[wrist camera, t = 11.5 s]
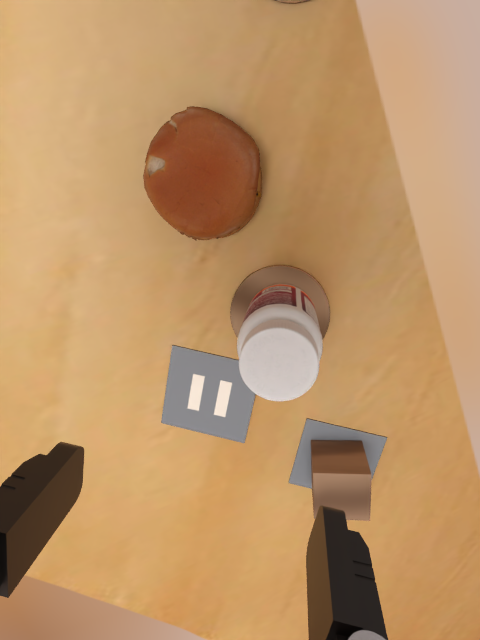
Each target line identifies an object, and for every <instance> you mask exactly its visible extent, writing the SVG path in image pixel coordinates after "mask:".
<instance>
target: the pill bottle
mask: <svg viewBox="0 0 480 640" xmlns="http://www.w3.org/2000/svg"><path fill="white" fill-rule="evenodd" d="M322 348H323V344H322V335H321V332H320V327H319V323H318V319H317V314H316V310H315V307H314V305H313V303H312V301H311V299H310V298H309V296H308V295H307V294H306V293H305V292H303V291H302V290H301V289H299V288H297V287H295V286H292V285H288V284H275V285H271V286H268V287H266V288H264V289H263V290H261V291H260V292H259V293H257V294H256V295H255V297H254V298H253V299H252V301H251V303H250V305H249V307H248V310H247V313H246V316H245V318H244V321H243V323H242V326H241V328H240V331H239V335H238V339H237V352H238V356H239V370H240V374H241V377H242V379H243V381H244V382H245V384H246V385H247V387H248V388H249V389H250V390H251V391H252V392H254V393H255V394H257V395H258V396H260V397H262V398H264V399H268V400H272V401H288V400H292V399H295V398H298V397H299V396H301V395H303V394H304V393H306V392H307V391H308V390H309V389H310V388H311V387H312V385H313V384H314V382H315V380H316V378H317V376H318V372H319V361H320V359H321V355H322Z"/></svg>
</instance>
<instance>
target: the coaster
mask: <svg viewBox="0 0 480 640" xmlns="http://www.w3.org/2000/svg"><path fill="white" fill-rule="evenodd" d="M275 284H288V285H292V286H295V287H297V288H299V289H301V290H302V291H303V292H305V293H306V294H307V295H308V296H309V298H310V299H311V301H312V303H313V305H314V307H315V310H316V314H317V319H318V323H319V327H320V332H321V335H322V339H323V338H324V336H325V334H326V332H327V329H328V326H329V321H330V307H329V303H328V299H327V297H326V294H325V292H324V290H323V288H322V287H321V286H320V284H319V283H318V282H317V281H316V280H315V279H314V278H313V277H312V276H311V275H309V274H308V273H306V272H305V271H303V270H300V269H298V268H295V267H291V266H285V265H276V266H269V267H265V268H262V269H260V270H258V271H256V272H254V273H252V274H251V275H250V276H248V277H247V278H246V279H245V280H244V281H243V282H242V283H241V285H240V286H239V288H238V289H237V291H236V293H235V295H234V297H233V300H232V304H231V311H230V313H231V323H232V327H233V330H234V332H235V334H236V336H237V338H238V335H239V331H240V328H241V326H242V323H243V321H244V318H245V316H246V313H247V310H248V307H249V305H250V303H251V301H252V299H253V298H254V297H255V295H256V294H257V293H259V292H260V291H261V290H263V289H264V288H266V287H268V286H271V285H275Z"/></svg>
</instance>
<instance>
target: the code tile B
mask: <svg viewBox="0 0 480 640" xmlns="http://www.w3.org/2000/svg"><path fill="white" fill-rule="evenodd" d="M311 440H353V441H362V443H363V446H364V450H365V453H366V457H367V460H368V464H369V468H370V471H371V480H372V478H373V475H374V472H375V469H376V467H377V464H378V461H379V459H380V456H381V453H382V450H383V448H384V445H385V442H386V440H387V437H383V436H379V435H374V434H370V433H366V432H362V431H358V430H353V429H349V428H345V427H341V426H336V425H332V424H328V423H324V422H320V421H315V420H311V419H307V420H306V423H305V427H304V430H303V434H302V437H301V441H300V444H299V448H298V451H297V455H296V458H295V462H294V465H293V469H292V473H291V476H290V480H289V483H291V484H295V485H299V486H303V487H307V488H311V489H312V476H311Z"/></svg>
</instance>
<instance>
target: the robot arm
mask: <svg viewBox="0 0 480 640" xmlns="http://www.w3.org/2000/svg"><path fill="white" fill-rule="evenodd" d="M276 1H280V2H285V3H298V2H303V1H307V0H276ZM83 464H84V448H83V447H81V446H76V445H72V444H68V443H64V442H60V443H58V444H57V445H56V446H55V447H54V448H53V449H52V450H51V451H50V452H49V454H48V455H42V454H38V455H36V456H35V457H33V458H31V459H29V460H27V461H25V462H24V463H22V464H21V465H20V466H19V467H18V468H17V469H16V470H15V471H14V472H13V473H12V475H11V477H8V478H7V479H6V480H5V481H4V482H3V483H2V485H1V487H0V596H4V597H7V598H8V597H9V596H10V594H11V593H12V592H13V590H14V589H15V587H16V586H17V585H18V583H19V582H20V580H21V579H22V577H23V576H24V575H25V573H26V572H27V571H28V569H29V568H30V566H31V565H32V563H33V562H34V561H35V559H36V558H37V556H38V555H39V553H40V552H41V551H42V549H43V548H44V546H45V545H46V544H47V542H48V541H49V539H50V538H51V536H52V535H53V534H54V532H55V531H56V529H57V528H58V526H59V525H60V524H61V522H62V521H63V519H64V518H65V517H66V515H67V514H68V512H69V511H70V509H71V508H72V507H73V505H74V504H75V502H76V500H77V499H78V496H79V494H80V491H81V488H82V483H83ZM306 569H307V599H308V628H309V640H388V637H387V634H386V629H385V624H384V619H383V615H382V610H381V605H380V600H379V595H378V591H377V586H376V582H375V576H374V572H373V568H372V562H371V557H370V553H369V548H368V547H367V545H366V543H365V542H364V540H363V538H362V537H361V535H360V533H359V532H355V531H351V530H348V528H347V522H346V516H345V512H344V511H343V510H339V509H335V508H331V507H327V506H322V505H321V506H320V507H319V509H318V512H317V515H316V519H315V522H314V525H313V528H312V531H311V535H310V538H309V542H308V547H307V555H306Z"/></svg>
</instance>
